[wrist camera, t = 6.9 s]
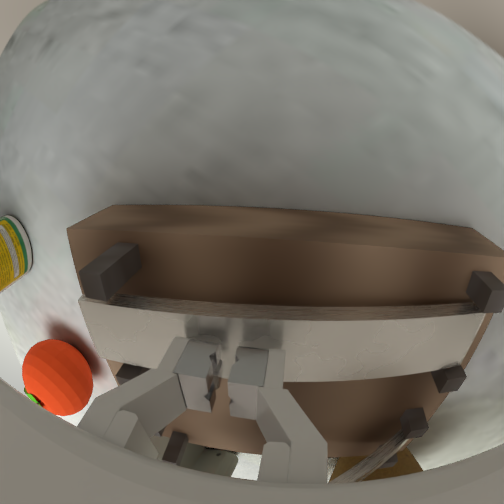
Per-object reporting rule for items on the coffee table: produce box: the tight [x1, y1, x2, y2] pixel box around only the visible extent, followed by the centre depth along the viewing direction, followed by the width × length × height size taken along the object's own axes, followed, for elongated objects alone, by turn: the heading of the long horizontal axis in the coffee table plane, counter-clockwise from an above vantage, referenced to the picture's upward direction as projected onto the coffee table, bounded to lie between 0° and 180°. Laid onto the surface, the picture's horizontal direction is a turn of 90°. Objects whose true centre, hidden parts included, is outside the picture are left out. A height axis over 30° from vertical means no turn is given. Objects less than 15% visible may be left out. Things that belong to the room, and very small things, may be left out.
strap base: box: [67, 205, 504, 469], centre depth 13 cm, size 20×16×7 cm
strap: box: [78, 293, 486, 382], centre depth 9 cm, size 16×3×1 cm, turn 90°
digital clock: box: [150, 436, 238, 477], centre depth 20 cm, size 16×9×11 cm, turn 102°
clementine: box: [22, 339, 93, 416], centre depth 18 cm, size 8×7×7 cm
